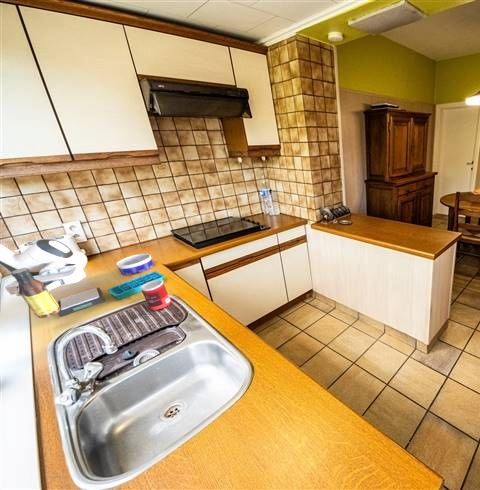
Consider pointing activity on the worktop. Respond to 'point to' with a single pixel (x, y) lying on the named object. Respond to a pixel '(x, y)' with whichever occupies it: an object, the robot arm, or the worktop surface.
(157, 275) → the ice cube tray
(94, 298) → the scale
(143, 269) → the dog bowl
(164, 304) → the canned food
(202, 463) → the worktop surface
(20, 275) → the sauce bottle
